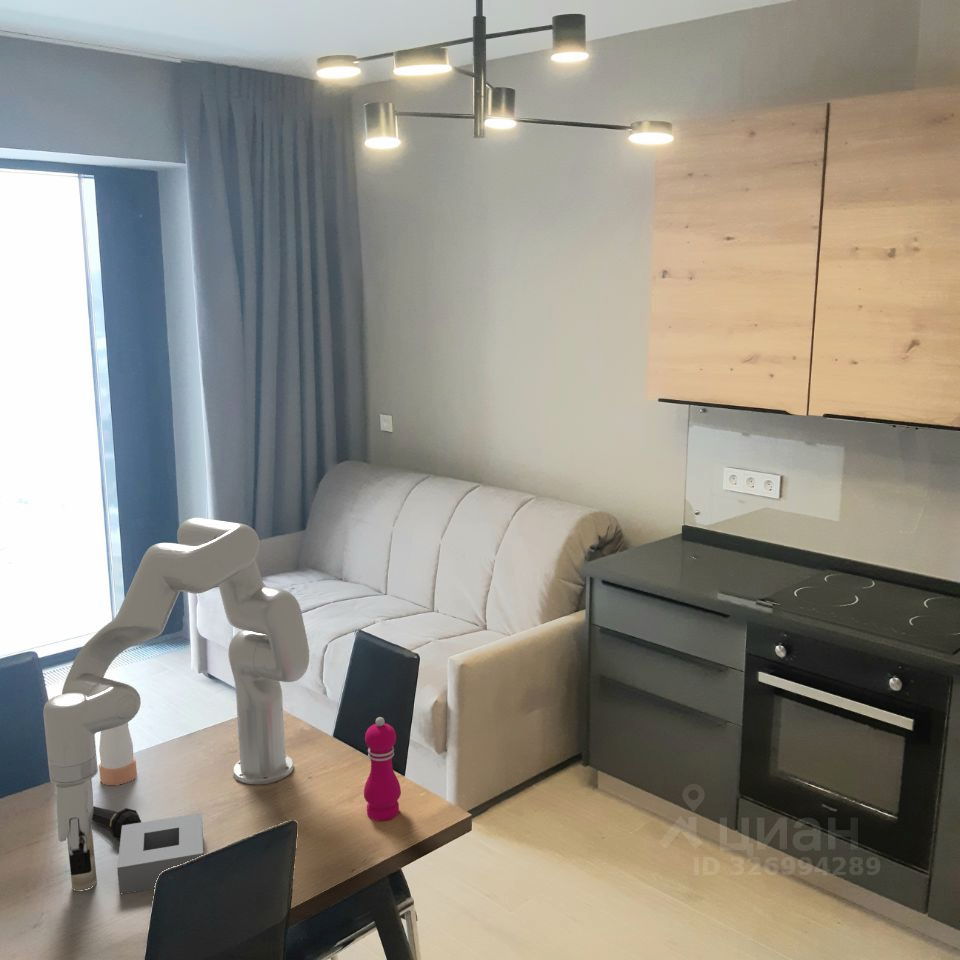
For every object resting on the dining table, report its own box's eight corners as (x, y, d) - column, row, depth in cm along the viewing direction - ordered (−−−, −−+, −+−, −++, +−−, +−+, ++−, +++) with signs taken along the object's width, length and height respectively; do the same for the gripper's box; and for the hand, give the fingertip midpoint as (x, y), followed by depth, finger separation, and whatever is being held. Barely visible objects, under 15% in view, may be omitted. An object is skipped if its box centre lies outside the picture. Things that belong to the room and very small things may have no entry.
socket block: (124, 850, 175) (122, 825, 175) (203, 837, 180) (201, 812, 179) (119, 894, 162) (117, 867, 161) (205, 879, 166) (203, 853, 165)
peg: (73, 880, 167) (67, 816, 164) (97, 875, 168) (91, 813, 166) (70, 893, 163) (64, 828, 161) (95, 888, 164) (89, 824, 162)
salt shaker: (137, 781, 201) (130, 696, 197) (100, 788, 198) (92, 702, 195) (135, 766, 207) (129, 683, 204) (100, 773, 205) (92, 689, 201)
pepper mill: (395, 824, 183) (392, 726, 180) (359, 820, 185) (355, 724, 181) (405, 805, 190) (403, 711, 187) (371, 801, 192) (367, 708, 188)
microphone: (71, 828, 189) (128, 849, 177) (58, 805, 187) (115, 825, 175) (94, 809, 193) (151, 828, 181) (81, 786, 191) (139, 805, 179)
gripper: (55, 748, 168) (64, 843, 171) (42, 794, 152) (53, 897, 156) (100, 742, 170) (109, 836, 174) (92, 786, 155) (102, 889, 158)
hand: (82, 864), depth 165 cm, fingers closed on peg, 4 cm apart
